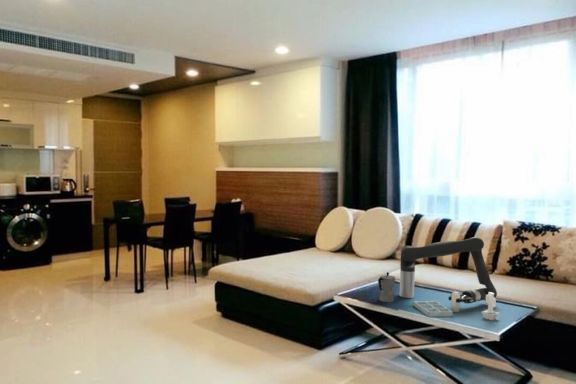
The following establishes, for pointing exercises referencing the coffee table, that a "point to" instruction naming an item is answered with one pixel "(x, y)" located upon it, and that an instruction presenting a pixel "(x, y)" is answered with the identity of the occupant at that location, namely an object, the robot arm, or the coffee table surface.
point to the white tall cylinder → (454, 305)
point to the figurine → (490, 307)
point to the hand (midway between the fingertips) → (452, 299)
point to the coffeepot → (386, 288)
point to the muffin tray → (432, 308)
